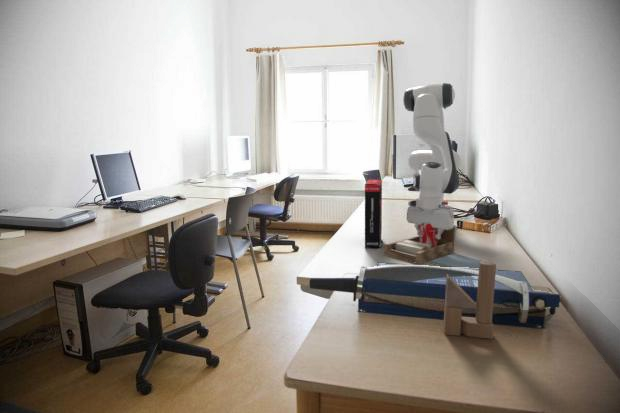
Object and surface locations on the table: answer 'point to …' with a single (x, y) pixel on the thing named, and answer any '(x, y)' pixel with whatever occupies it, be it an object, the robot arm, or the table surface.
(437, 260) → the slate mat
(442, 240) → the tray
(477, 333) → the wooden block
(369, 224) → the graphics card box
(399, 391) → the table surface
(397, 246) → the upper offcut board
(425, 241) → the soda can
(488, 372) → the table surface
